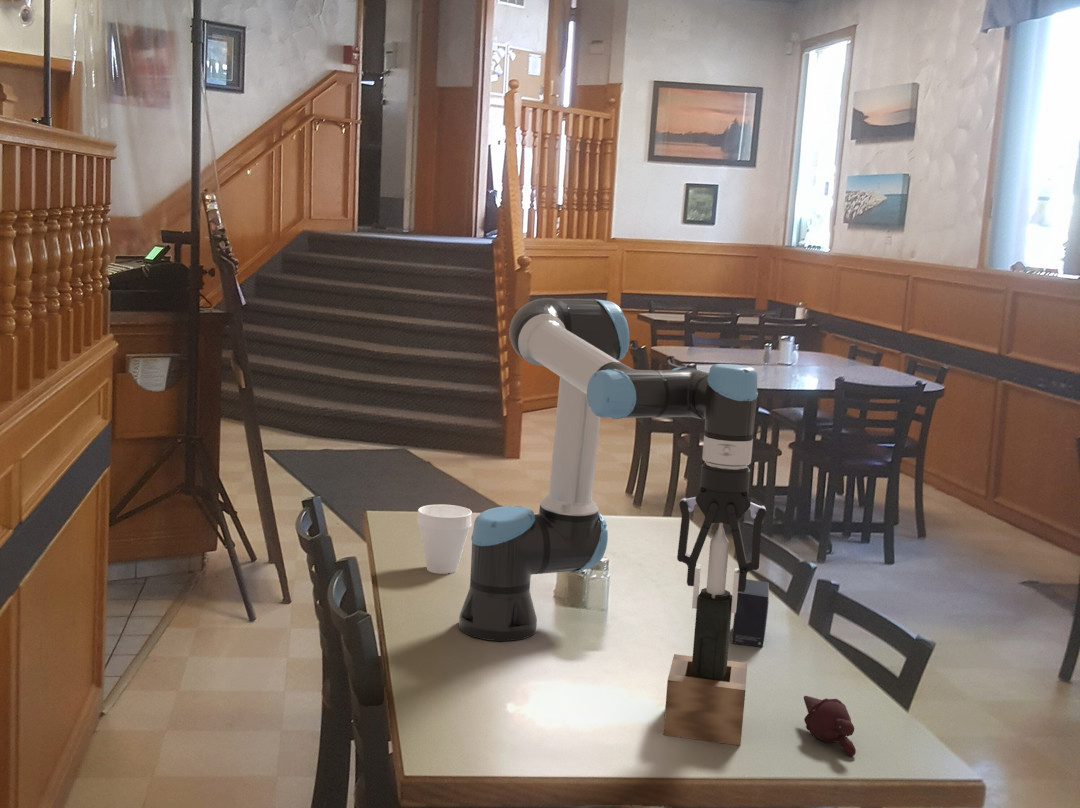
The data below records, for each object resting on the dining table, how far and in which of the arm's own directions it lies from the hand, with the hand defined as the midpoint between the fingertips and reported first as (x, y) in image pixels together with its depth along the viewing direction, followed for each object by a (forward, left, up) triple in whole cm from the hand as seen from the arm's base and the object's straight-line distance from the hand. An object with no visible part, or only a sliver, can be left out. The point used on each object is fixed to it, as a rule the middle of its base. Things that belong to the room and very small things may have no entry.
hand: (714, 607), depth 186 cm
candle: (0, 0, -11) cm, 11 cm away
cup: (-63, +67, -20) cm, 94 cm away
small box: (+6, +46, -20) cm, 51 cm away
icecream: (+19, +1, -20) cm, 28 cm away
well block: (0, 0, -20) cm, 20 cm away
